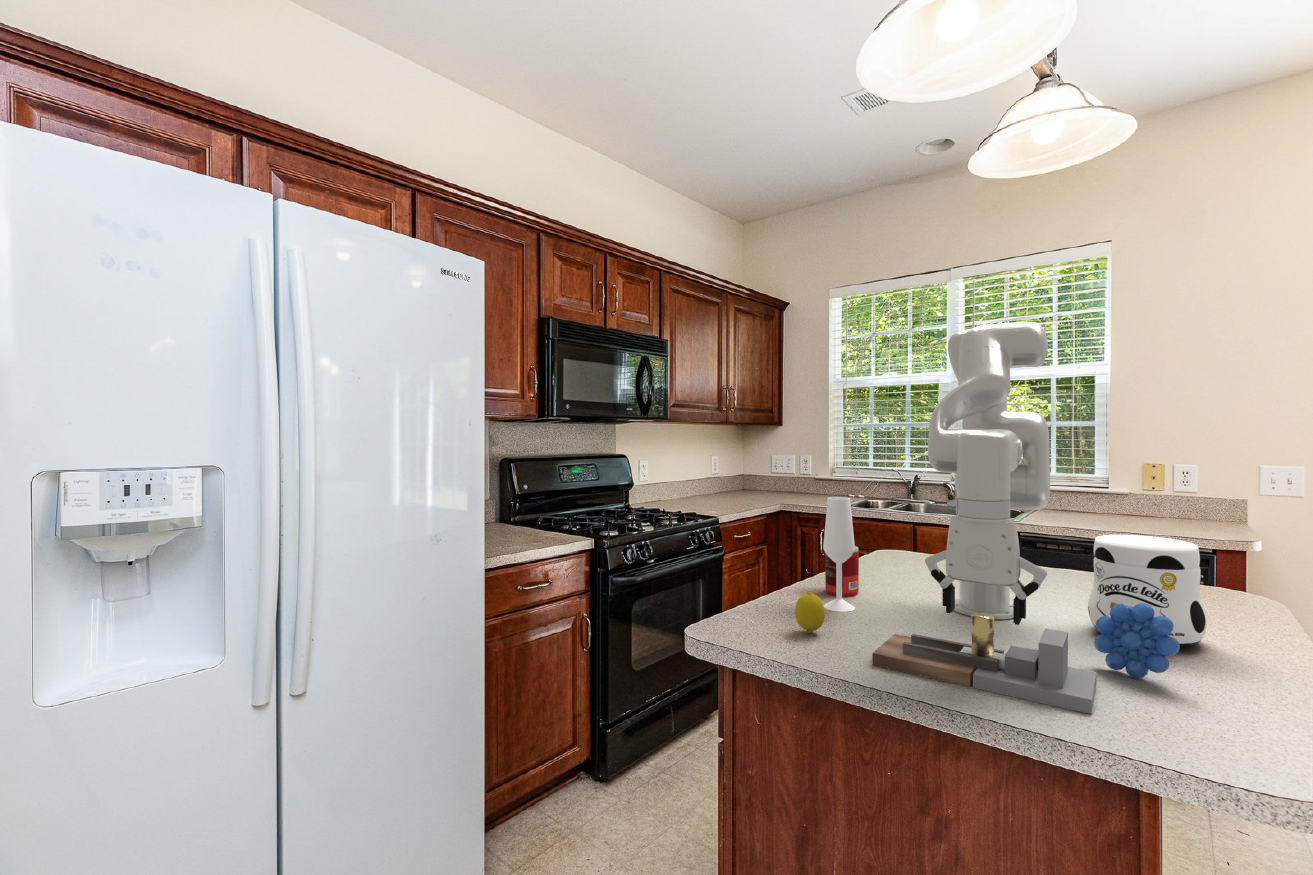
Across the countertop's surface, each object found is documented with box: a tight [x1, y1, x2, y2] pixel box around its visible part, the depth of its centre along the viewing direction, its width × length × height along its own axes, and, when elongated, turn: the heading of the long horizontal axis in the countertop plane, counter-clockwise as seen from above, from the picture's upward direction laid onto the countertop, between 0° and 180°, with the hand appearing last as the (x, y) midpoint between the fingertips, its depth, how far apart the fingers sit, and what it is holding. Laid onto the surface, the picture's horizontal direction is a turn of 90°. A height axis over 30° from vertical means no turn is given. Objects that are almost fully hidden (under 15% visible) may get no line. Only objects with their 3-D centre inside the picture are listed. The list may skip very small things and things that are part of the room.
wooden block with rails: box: [871, 633, 1005, 688], centre depth 103 cm, size 12×18×4 cm, turn 52°
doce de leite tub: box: [1087, 534, 1208, 648], centre depth 116 cm, size 17×17×18 cm
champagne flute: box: [822, 496, 856, 613], centre depth 137 cm, size 7×7×24 cm
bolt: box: [960, 613, 1006, 670], centre depth 98 cm, size 3×10×7 cm, turn 52°
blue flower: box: [1093, 603, 1180, 679], centre depth 98 cm, size 12×7×12 cm, turn 27°
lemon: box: [794, 591, 826, 634], centre depth 120 cm, size 6×6×8 cm
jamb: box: [972, 628, 1097, 715], centre depth 95 cm, size 12×15×8 cm
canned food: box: [824, 545, 860, 598], centre depth 149 cm, size 8×8×11 cm
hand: (982, 616), depth 100 cm, fingers open, 9 cm apart
